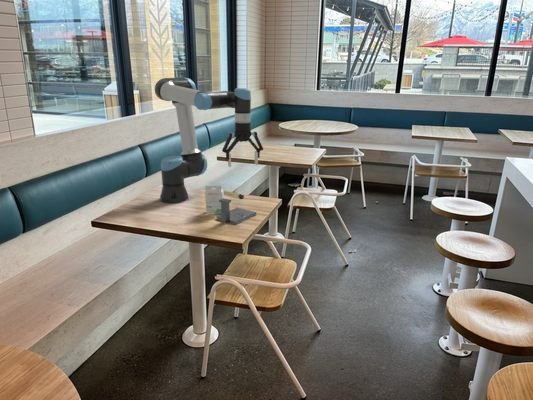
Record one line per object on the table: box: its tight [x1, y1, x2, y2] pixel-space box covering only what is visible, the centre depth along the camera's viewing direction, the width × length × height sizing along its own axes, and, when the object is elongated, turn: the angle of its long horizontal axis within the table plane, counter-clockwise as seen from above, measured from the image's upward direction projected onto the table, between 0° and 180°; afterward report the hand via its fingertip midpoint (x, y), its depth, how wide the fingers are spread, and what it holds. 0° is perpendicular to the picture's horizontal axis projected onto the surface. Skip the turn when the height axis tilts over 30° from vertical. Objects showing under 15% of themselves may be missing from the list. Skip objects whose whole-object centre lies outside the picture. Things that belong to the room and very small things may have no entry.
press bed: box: [216, 197, 257, 225], centre depth 195 cm, size 12×18×11 cm
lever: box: [224, 190, 245, 200], centre depth 209 cm, size 17×4×3 cm, turn 55°
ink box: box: [204, 184, 225, 215], centre depth 201 cm, size 9×5×15 cm, turn 84°
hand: (243, 165), depth 199 cm, fingers open, 13 cm apart
